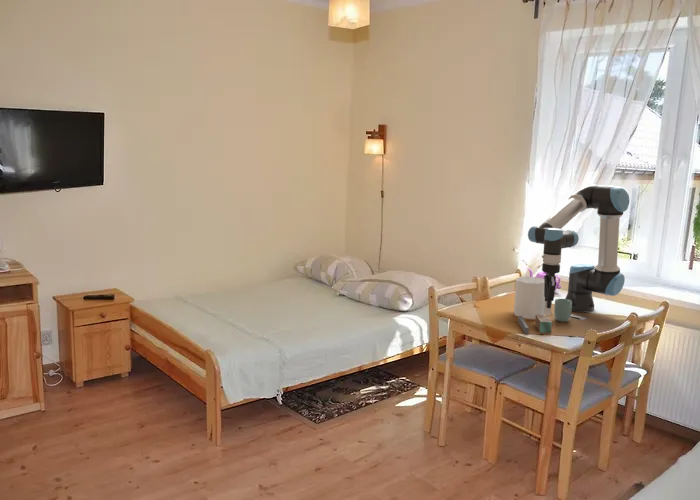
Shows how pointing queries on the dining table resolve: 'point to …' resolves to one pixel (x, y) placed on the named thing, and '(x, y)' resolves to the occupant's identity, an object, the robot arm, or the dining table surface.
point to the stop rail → (523, 325)
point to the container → (529, 297)
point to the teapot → (541, 275)
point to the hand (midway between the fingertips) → (547, 314)
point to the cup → (562, 309)
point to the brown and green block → (543, 323)
